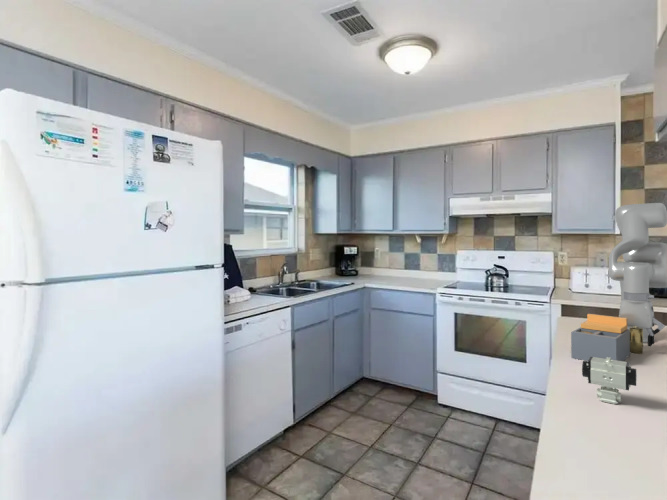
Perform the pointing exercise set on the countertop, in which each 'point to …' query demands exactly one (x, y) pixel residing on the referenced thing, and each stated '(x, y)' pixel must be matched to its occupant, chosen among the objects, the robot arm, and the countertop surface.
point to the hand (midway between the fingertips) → (636, 343)
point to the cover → (605, 323)
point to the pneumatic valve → (609, 377)
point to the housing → (600, 344)
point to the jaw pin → (636, 340)
